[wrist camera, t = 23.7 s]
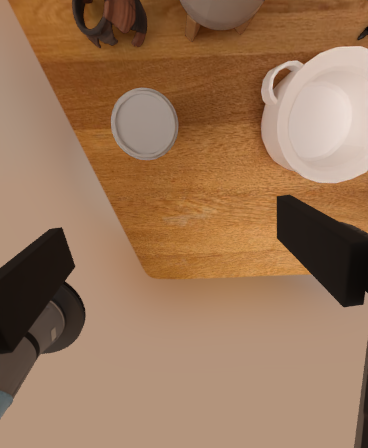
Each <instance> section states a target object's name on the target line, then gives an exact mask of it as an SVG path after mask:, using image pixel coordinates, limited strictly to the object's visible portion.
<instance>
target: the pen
mask: <svg viewBox="0 0 368 448" xmlns="http://www.w3.org/2000/svg"><path fill="white" fill-rule="evenodd" d="M366 35H368V27H367V28H365V30H364V31H363V32H362V33H361V34H360V36H359V37H358V40H360V39H362V38H364V37H365V36H366Z"/></svg>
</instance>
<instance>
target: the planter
mask: <svg viewBox="0 0 368 448" xmlns="http://www.w3.org/2000/svg"><path fill="white" fill-rule="evenodd" d="M264 1H265V0H180V2H181V4H182V6H183V8H184V9H185V11H186V12H187V13H188V14H187V22H186V31H185V36H186V37H187V38H188V39H189V40H190V41H191V42H193V40H194V39H195V37H196V35H197V33H198V30H199V28H200V26H201V25H202V26H204V27H207V28H209V29H213V30H228V29H233V28H235V27H236V28H235V30H236V31H237V32H238V33H239V34H240V35H241V34H242V33H243V31H244V30H245V28H246V27H247V25H248V24H249V23H250V21H251V20H252V18H253V17H254V15H255V14H256V12H257V11H258V10H259V8H260V7H261V5H262V4H263V2H264Z"/></svg>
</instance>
